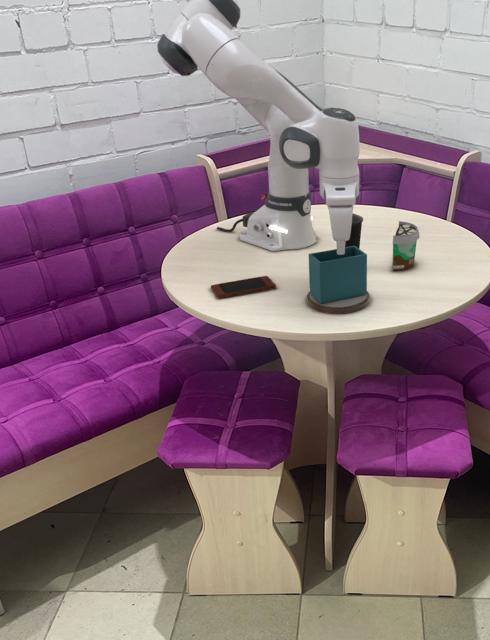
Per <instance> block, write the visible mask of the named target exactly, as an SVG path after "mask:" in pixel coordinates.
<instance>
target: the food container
mask: <svg viewBox="0 0 490 640" xmlns="http://www.w3.org/2000/svg"><path fill="white" fill-rule="evenodd" d="M420 237H421V236H420V230H419V228H418V226H417V225H416V224H414V223H411V222H409V221H401V220H400V221H398V227H397V229H396V231H395V234H394V235H392V272H405V271H409V270H411V269H413V268H414V266H415V259H416V249H417V242H418V240H419V239H420Z"/></svg>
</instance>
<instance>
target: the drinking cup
mask: <svg viewBox="0 0 490 640" xmlns="http://www.w3.org/2000/svg"><path fill="white" fill-rule="evenodd" d="M363 222H364V217H362V216H361V215H360V214H357V213H354V212H353V213H352V224H351V233H350V238H349V240H348V241H346V243H345V247H350V246H356V247H357V248H359V249H360V248H361V238H362V237H361V235H362V226H363Z"/></svg>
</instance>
